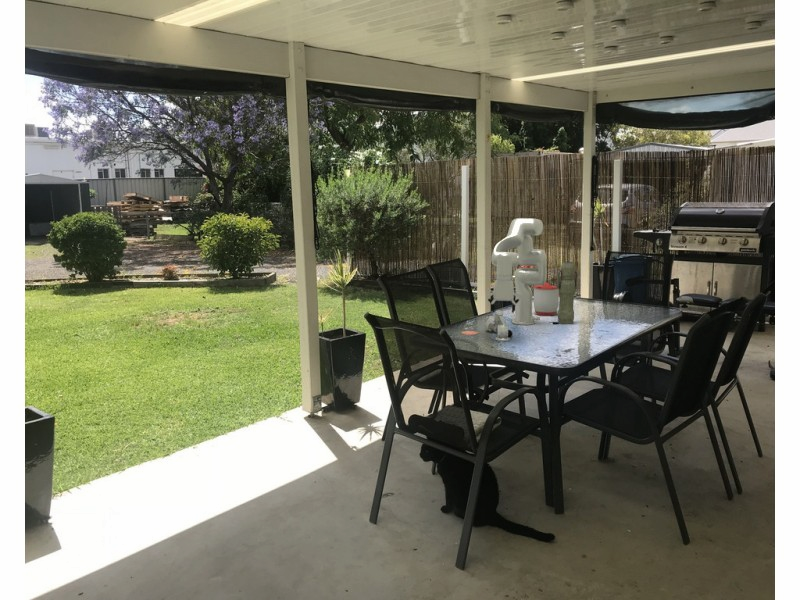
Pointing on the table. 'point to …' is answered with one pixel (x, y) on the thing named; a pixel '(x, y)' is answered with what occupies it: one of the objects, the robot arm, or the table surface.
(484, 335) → the table surface
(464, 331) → the gasket pad
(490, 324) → the mechanical valve
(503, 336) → the pipe coupling
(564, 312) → the stone statue
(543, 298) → the citrus juicer
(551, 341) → the table surface
